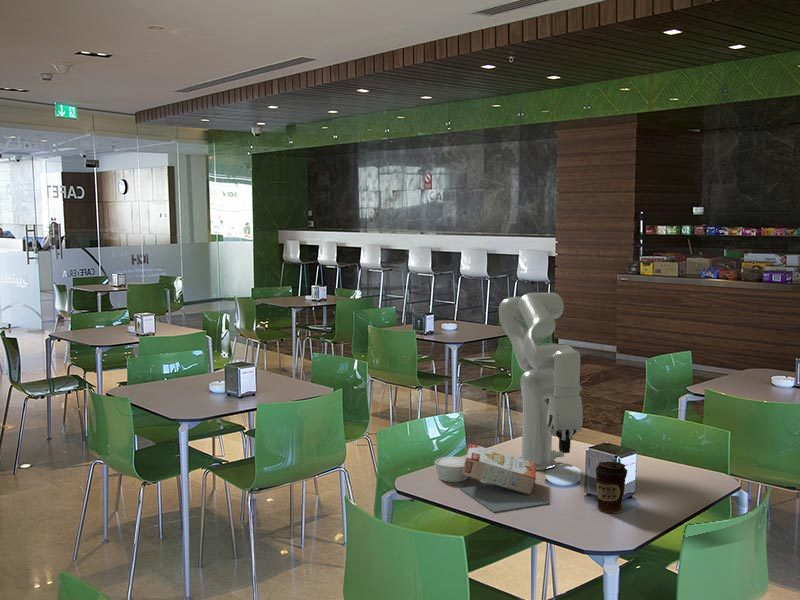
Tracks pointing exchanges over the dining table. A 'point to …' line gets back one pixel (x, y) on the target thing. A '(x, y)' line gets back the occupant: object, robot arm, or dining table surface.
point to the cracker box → (500, 469)
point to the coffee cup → (610, 486)
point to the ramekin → (451, 469)
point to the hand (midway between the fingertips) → (564, 451)
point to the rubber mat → (502, 498)
